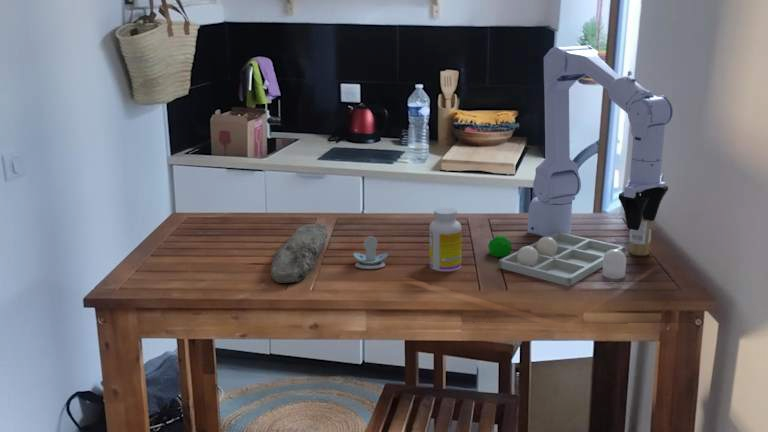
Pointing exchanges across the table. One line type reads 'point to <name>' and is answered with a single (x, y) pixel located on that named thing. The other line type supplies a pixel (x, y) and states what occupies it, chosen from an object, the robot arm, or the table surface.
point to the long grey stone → (298, 254)
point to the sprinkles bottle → (640, 238)
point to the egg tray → (564, 260)
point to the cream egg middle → (547, 246)
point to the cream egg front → (527, 256)
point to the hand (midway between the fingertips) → (641, 224)
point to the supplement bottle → (445, 240)
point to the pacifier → (370, 255)
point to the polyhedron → (500, 247)
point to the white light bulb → (614, 264)
